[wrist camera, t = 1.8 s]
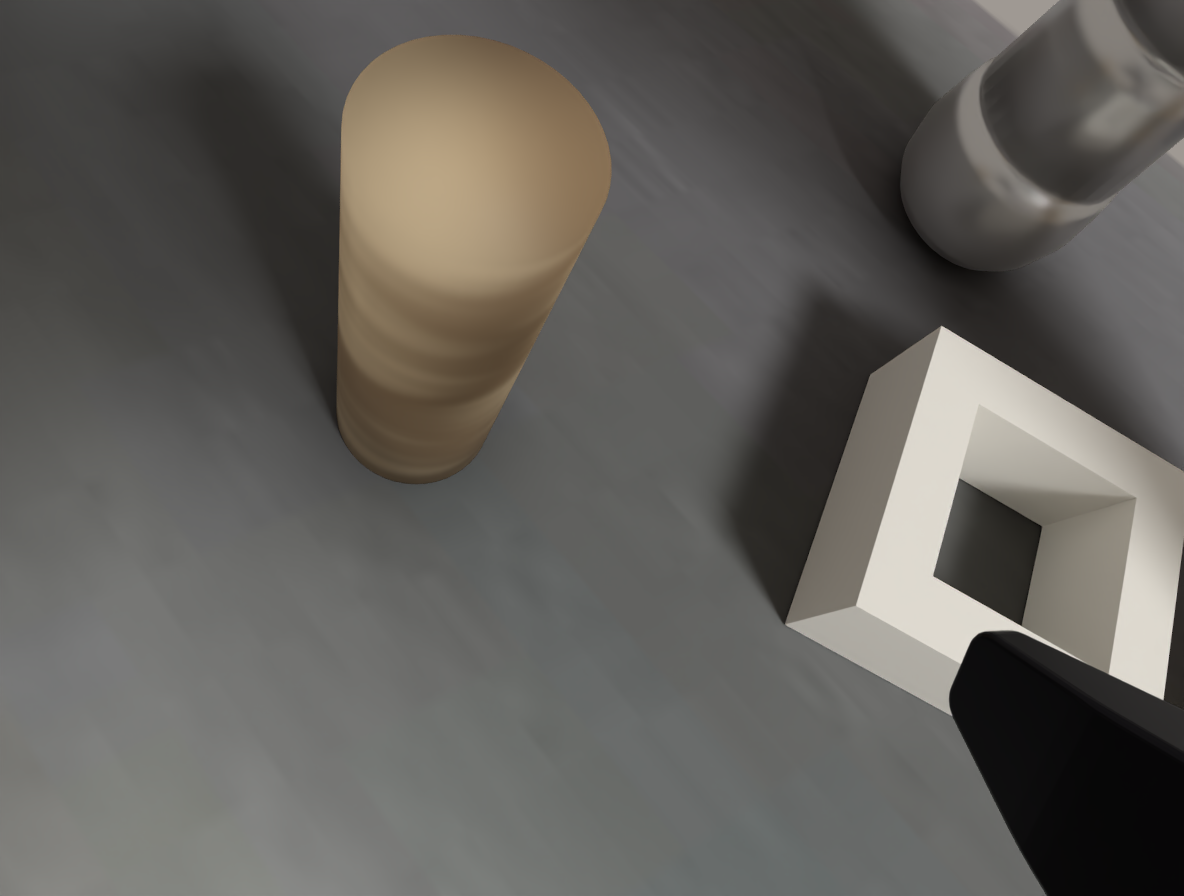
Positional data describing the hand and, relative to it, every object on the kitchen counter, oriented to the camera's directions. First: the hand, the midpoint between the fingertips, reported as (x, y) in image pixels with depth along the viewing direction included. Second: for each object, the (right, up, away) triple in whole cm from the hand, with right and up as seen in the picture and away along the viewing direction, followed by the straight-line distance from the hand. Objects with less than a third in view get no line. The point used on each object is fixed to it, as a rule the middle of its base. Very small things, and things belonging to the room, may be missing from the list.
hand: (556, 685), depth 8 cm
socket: (+11, -1, +18) cm, 21 cm away
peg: (-4, +3, +15) cm, 16 cm away
